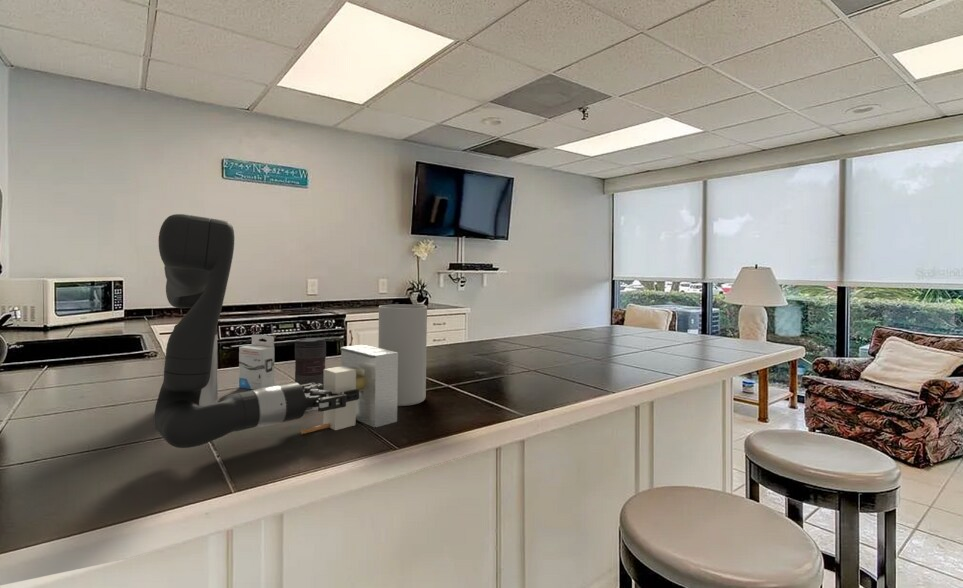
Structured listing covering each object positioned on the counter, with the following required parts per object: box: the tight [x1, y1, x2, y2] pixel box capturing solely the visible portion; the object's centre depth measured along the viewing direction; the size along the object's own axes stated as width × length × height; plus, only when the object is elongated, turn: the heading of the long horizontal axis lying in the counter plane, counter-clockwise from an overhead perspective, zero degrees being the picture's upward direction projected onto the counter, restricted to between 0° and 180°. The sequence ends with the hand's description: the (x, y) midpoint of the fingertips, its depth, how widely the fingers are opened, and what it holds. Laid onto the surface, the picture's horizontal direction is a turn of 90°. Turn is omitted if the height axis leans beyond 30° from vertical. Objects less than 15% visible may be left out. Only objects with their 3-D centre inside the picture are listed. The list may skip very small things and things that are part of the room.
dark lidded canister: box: [294, 337, 327, 385], centre depth 131 cm, size 8×8×15 cm
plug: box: [300, 365, 364, 435], centre depth 107 cm, size 21×5×12 cm, turn 137°
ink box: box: [238, 334, 275, 390], centre depth 136 cm, size 9×5×15 cm, turn 71°
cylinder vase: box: [377, 303, 428, 407], centre depth 126 cm, size 12×12×25 cm
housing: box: [339, 344, 398, 428], centre depth 111 cm, size 7×14×16 cm, turn 47°
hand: (347, 390), depth 108 cm, fingers open, 8 cm apart
